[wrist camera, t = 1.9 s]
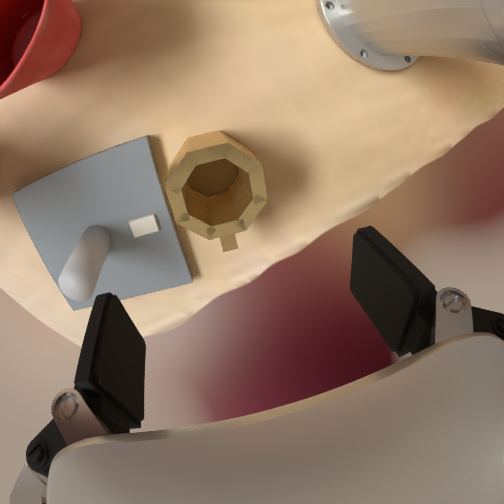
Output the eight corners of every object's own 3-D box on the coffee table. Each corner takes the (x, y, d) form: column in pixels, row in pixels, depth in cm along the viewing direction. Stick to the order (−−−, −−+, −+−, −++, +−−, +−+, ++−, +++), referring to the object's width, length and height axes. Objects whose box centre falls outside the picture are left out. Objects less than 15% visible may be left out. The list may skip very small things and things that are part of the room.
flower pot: (18, 120, 16) (-48, 146, 8) (-6, 36, 10) (-68, 34, 2) (112, 57, 16) (66, 40, 8) (84, -29, 10) (42, -69, 2)
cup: (165, 144, 21) (157, 160, 16) (241, 126, 22) (257, 136, 17) (189, 232, 26) (191, 268, 21) (257, 215, 27) (274, 247, 22)
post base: (147, 135, 21) (128, 155, 14) (192, 276, 29) (196, 333, 22) (16, 191, 19) (-28, 229, 13) (75, 304, 28) (58, 357, 21)
